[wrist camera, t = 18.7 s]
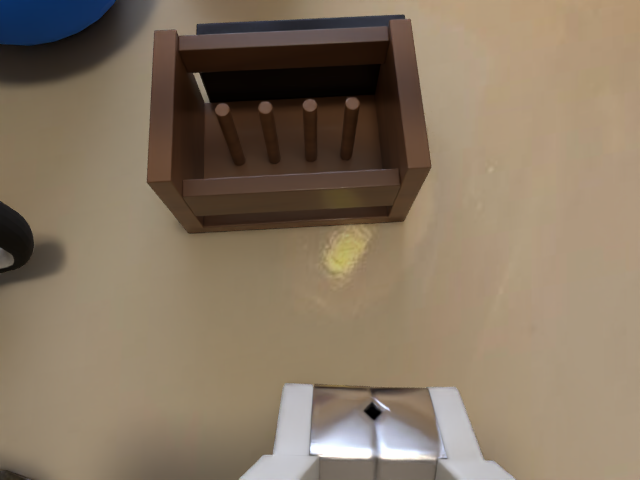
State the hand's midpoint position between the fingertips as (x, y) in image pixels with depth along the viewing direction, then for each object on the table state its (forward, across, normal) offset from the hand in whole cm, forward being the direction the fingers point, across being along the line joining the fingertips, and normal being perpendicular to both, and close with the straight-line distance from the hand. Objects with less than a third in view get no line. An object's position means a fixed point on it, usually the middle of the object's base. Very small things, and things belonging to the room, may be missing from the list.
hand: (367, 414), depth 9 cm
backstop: (+29, +3, -3) cm, 29 cm away
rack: (+25, +3, +2) cm, 26 cm away
